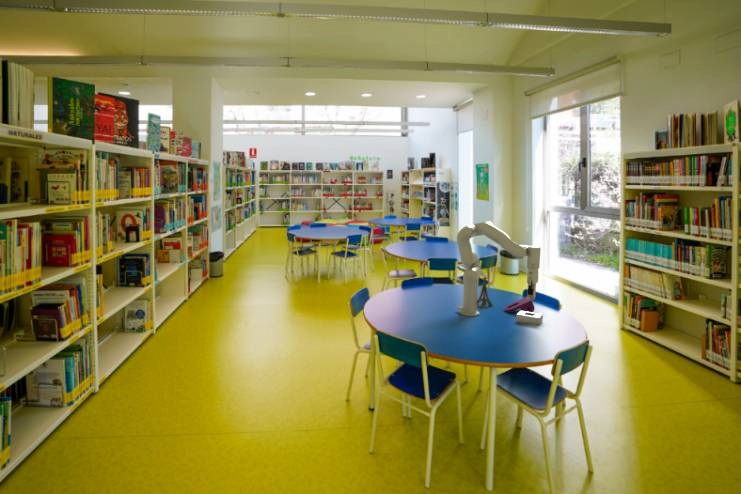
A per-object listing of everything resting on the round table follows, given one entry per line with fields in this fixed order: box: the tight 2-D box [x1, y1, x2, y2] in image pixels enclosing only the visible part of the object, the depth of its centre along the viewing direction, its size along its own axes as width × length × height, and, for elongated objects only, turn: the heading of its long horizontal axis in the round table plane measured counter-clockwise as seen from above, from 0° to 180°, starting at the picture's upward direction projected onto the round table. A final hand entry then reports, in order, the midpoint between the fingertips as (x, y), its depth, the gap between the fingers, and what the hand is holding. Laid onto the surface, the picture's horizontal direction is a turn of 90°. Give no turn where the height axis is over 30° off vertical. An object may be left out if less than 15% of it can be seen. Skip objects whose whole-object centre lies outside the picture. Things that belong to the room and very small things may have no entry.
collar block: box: [515, 310, 544, 326], centre depth 286 cm, size 14×10×5 cm
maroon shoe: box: [504, 296, 535, 313], centre depth 309 cm, size 9×8×18 cm
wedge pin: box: [526, 283, 537, 301], centre depth 284 cm, size 4×4×10 cm
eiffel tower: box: [477, 276, 495, 309], centre depth 321 cm, size 11×11×25 cm
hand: (531, 293), depth 284 cm, fingers closed on wedge pin, 4 cm apart
